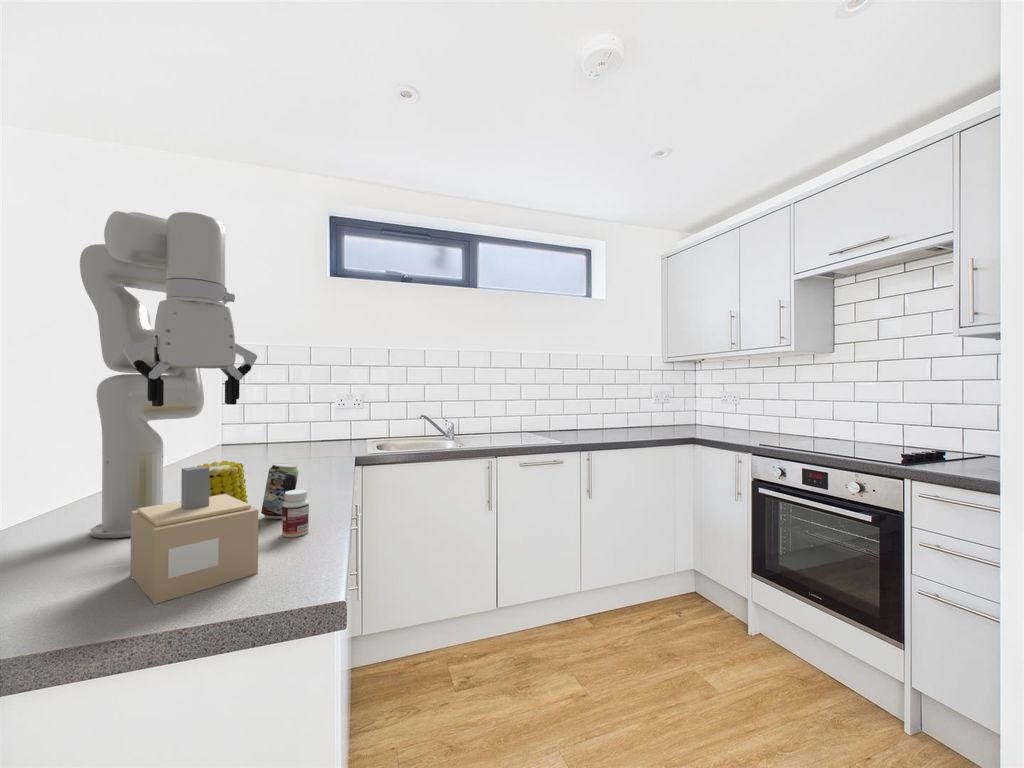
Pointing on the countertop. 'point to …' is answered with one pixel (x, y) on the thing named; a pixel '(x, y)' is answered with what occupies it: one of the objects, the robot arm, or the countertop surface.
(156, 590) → the carton
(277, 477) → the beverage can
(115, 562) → the countertop surface
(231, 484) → the food
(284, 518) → the pill bottle
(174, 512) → the flap
